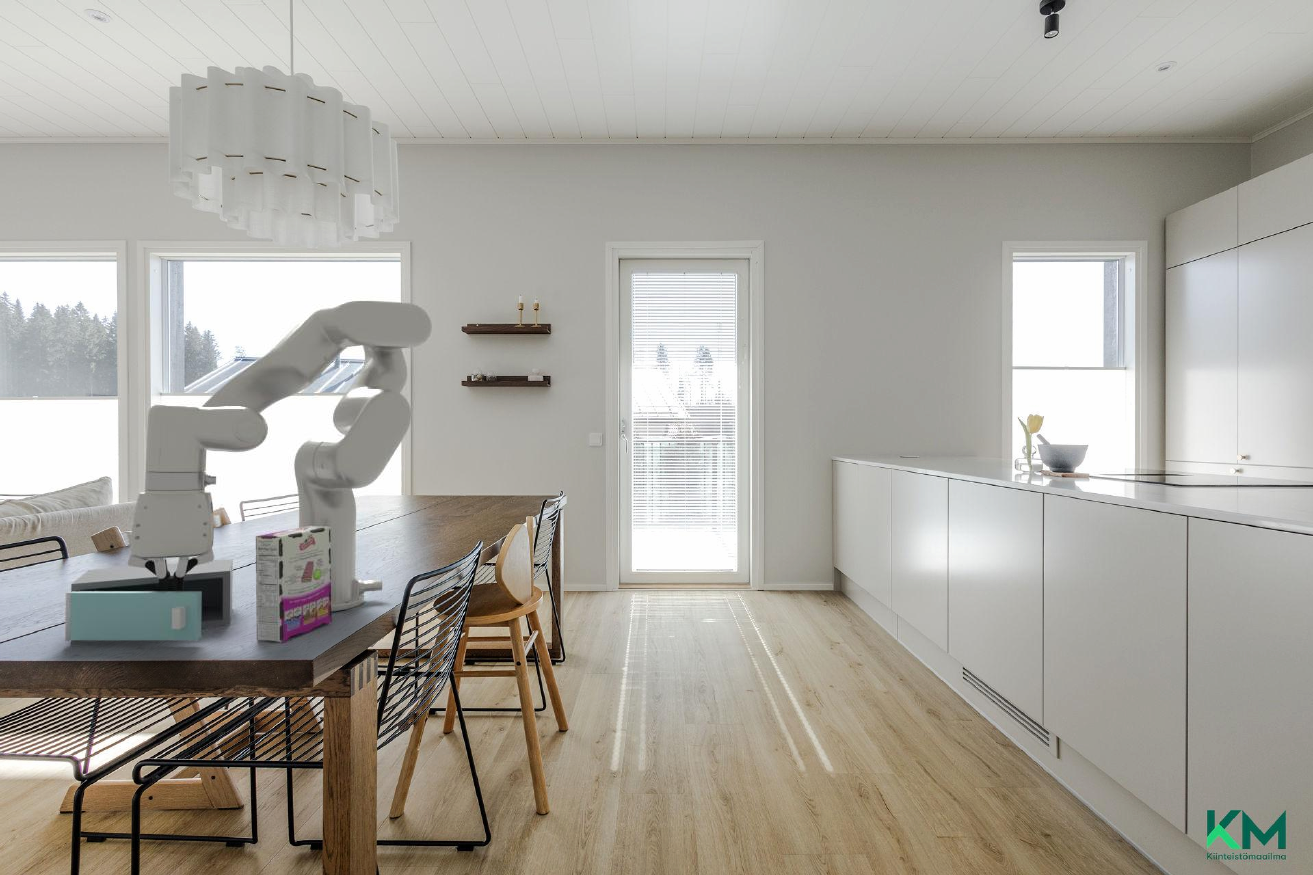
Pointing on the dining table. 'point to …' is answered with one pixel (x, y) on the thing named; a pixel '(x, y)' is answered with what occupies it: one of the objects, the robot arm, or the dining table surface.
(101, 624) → the side door
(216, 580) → the case
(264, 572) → the candy bar box
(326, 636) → the dining table surface
